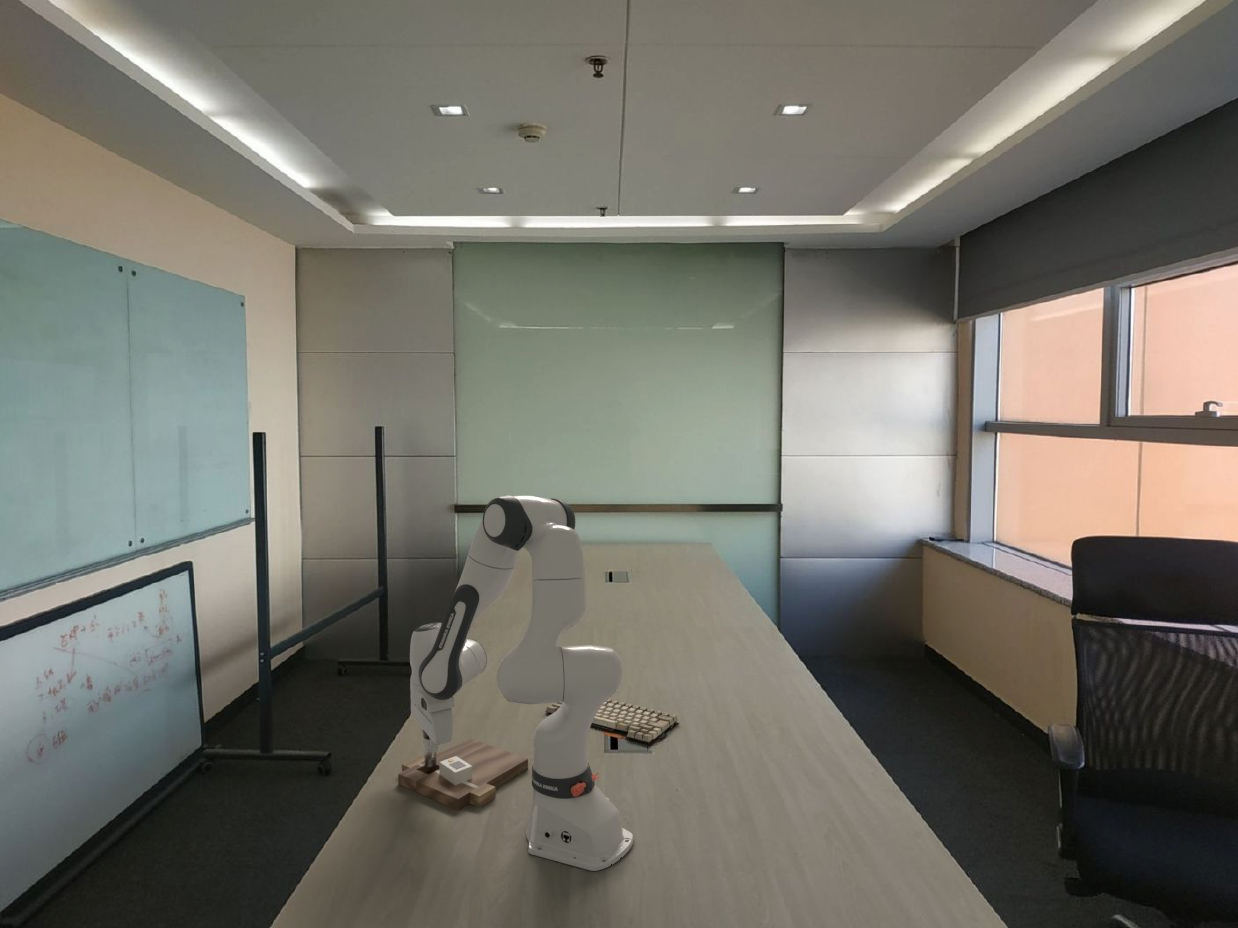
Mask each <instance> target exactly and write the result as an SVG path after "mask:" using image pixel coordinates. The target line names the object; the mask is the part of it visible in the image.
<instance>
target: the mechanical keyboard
mask: <svg viewBox="0 0 1238 928" xmlns="http://www.w3.org/2000/svg"><path fill="white" fill-rule="evenodd" d="M562 704H563V703H562V702H555V703H551V705H548V706H546V709H545V711H544V712H545V713H547V714H548V715H551V714H553V713H554V712H556V711H557V710H558V709H559V708H560V707H561V705H562ZM678 721H679V718H678V715H677V714H674V713H672V714H670V713H669V712H665V711H664V712H662V711H661V710H655V709H653V708H649V709H648V708H647V707H645V706H642V707H641V706H640V705H638V704H637V705H636V704H635V705H634V704H632V703H626V702H623V701H620V702H619V701H618V700H612V699H611V698H609V699H608V700H606V701H605V702H604V704H603V705H602V706H601V707H600V709H599V710H598V711H597V713H596V715H595V717H594V719H593V721H592V724H591V727H590V729H592V730H597V731H600V732H601V733H602V734H604V735H606V736H609V737H613V738H617V739H620V740H624V741H629V742H631V743H635V744H638V745H643V746H647V747H649V748H650V747H652V746H654V745H655V744H656V743H657V742H658V741H660V740H663V739H665V738H666V737H667V736H668V734H669V733H670V732H671V731H672V730H673V729H675V728H676V727H677V726H679V725H680V722H678Z"/></svg>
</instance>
